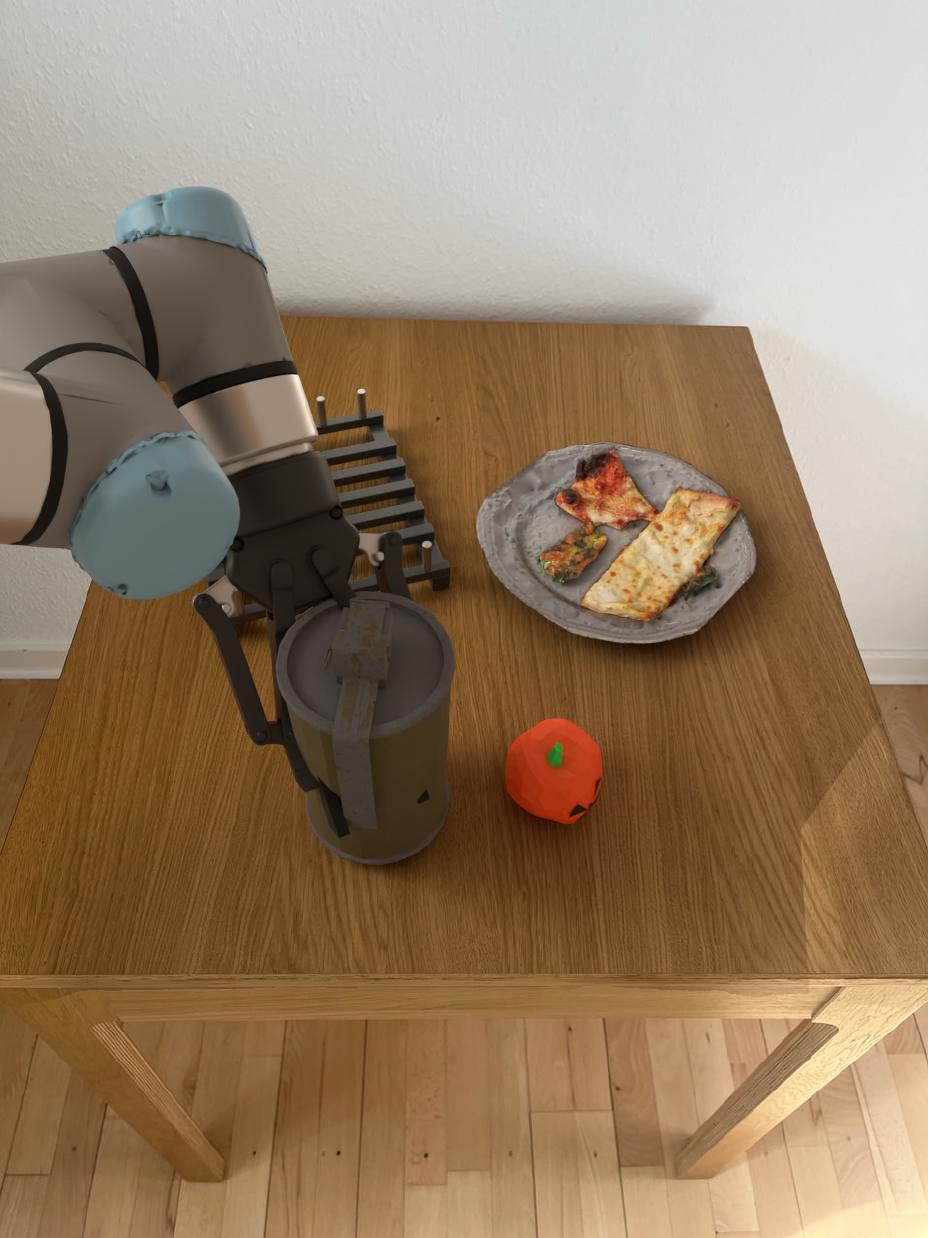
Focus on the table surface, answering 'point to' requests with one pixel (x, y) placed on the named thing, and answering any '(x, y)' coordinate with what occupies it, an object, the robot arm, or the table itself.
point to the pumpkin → (554, 771)
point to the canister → (372, 720)
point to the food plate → (617, 542)
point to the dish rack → (394, 489)
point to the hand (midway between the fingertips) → (379, 812)
